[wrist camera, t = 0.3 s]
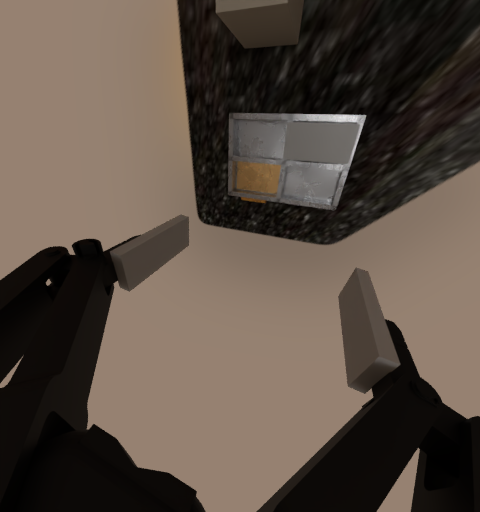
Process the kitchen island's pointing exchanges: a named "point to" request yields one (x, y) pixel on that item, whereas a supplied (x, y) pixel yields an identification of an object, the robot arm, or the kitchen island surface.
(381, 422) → the robot arm
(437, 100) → the kitchen island surface
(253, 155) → the grey divided tray
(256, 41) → the grey beige block
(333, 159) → the grey rectangular block
